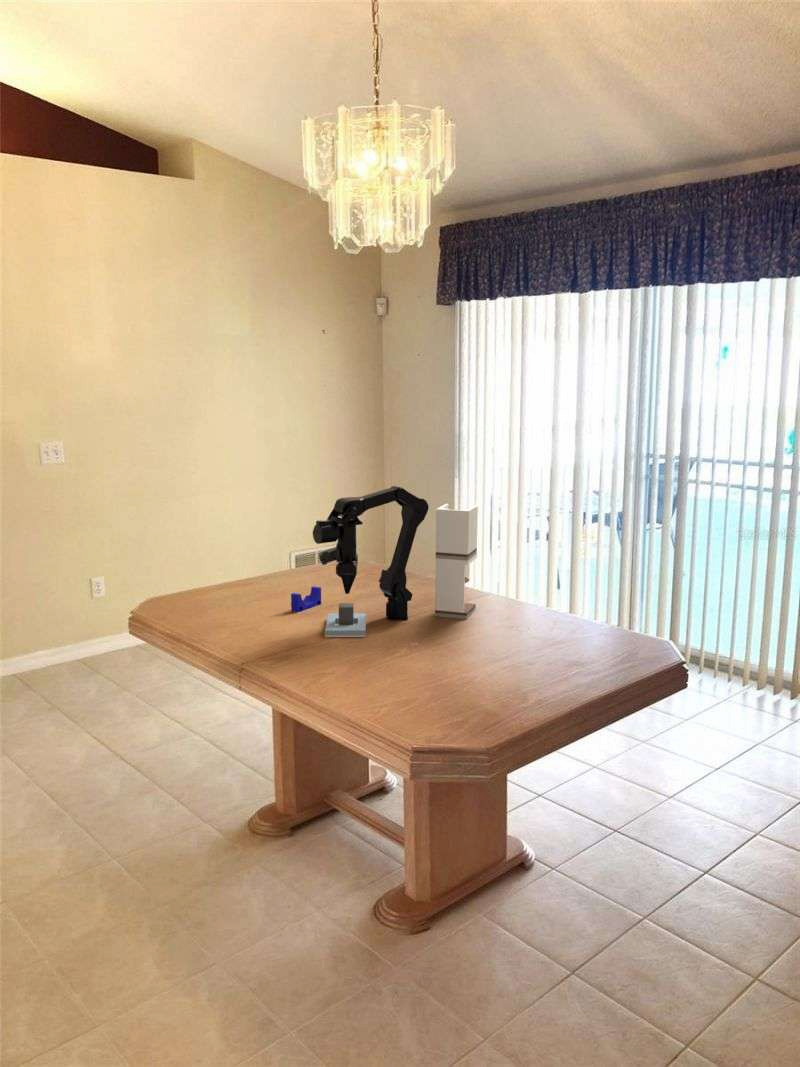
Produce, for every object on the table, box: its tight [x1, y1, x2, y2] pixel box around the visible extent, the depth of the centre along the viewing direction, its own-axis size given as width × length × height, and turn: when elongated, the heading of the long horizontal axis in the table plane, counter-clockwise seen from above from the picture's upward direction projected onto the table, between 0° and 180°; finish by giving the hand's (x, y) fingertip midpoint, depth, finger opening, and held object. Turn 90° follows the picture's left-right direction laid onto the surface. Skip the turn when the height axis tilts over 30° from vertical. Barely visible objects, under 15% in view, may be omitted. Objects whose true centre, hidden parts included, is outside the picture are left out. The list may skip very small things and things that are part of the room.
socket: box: [324, 612, 367, 638], centre depth 268 cm, size 12×18×2 cm, turn 1°
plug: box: [338, 602, 355, 625], centre depth 267 cm, size 4×4×7 cm
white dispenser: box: [434, 503, 479, 620], centre depth 281 cm, size 11×11×35 cm
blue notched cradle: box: [290, 585, 322, 613], centre depth 290 cm, size 12×4×6 cm, turn 147°
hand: (347, 589), depth 267 cm, fingers open, 9 cm apart
